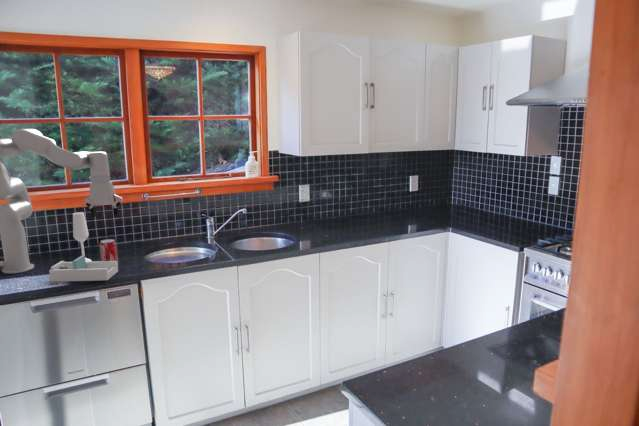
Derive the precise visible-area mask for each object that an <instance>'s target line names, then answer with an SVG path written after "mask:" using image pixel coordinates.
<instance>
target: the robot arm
mask: <svg viewBox="0 0 639 426" xmlns="http://www.w3.org/2000/svg"><path fill="white" fill-rule="evenodd" d="M27 152H30V153H33V154H35V155H38V156H41V157H44V158H45V159H47V160H48V161H50V162H51V163H53V164H55V165H57V166H60V167H63V168H66V169H68V170H71V171H78V170H83V169H87V168H88V169H89V168H90V176H89V177H88V181H90V183H89V196H87V197H85V198H84V199H83V202H84V204H85V205H86V207H88V208H89V210H90V214H91V217H92V218H93V219H94V218H96V217H98V216H97V215H98V214H97V208H96V206H108V205H110V206H112V207H113V209H112V211H113V217H114V218H117V217H118V216H119V213H120V212H119V207H120V206H121V205H122V202H123V201H124V198H123V197H122V196H120V195H118V194H116V192H115V191H116V190H115V187H114V185H113V181H111V174H110V167H109V166H110V165H109V159H108V153H107V152H106V151H85V150H84V151H75V152H72V151H69V150H67V149H65V148H61V147H60V146H58V145H57V142H56V141H55V139H53V138H50V137H48V136H44V134H43V133H42V132H41V131H39V130H37V129H36V128H20V129H16V130H15V131H14V132H13V133H12V134H11V137H5V138H4V137H2V138H0V201H6V200H7V202H5V203H2V204H0V239H1V240H0V241H1V246H2V252H3V253H2V254H3V260H4V261H3V260H1V261H0V267H2V268H1V272H2V274H7V275H9V274H10V275H13V274H21V273H24V272H29V271H31V270H33V269H34V268H35V264H34V263H31V262H30V256H29V248H28V242H27V235H26V230H25V227H24V225H23V223H22V221H23V220H26V219H28V218H30V217H31V216H32V215H33V210H34V209H33V204H32V200H31V198H30V194H29V192H28V189H27V186H26V184H25V183H24V181H22V180H21V179H20V178H18V177H16V176H10V175H9V173H8V170H7V167H6V166H5V164H4V163H3V162H2V161H1V159H5V158H13V157H18V156H20V155H22V154H24V153H27ZM117 200H118V201H117Z"/></svg>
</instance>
